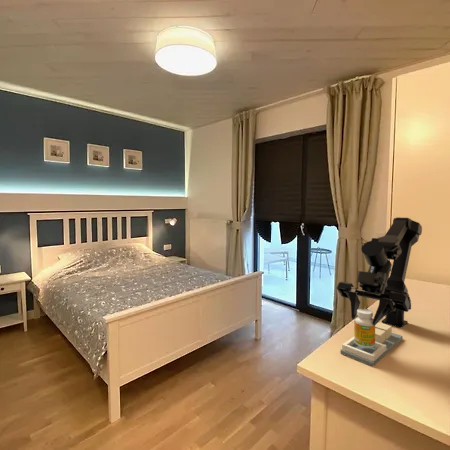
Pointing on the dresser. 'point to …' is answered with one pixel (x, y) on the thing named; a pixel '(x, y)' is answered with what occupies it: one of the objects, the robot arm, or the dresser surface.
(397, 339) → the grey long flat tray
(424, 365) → the dresser surface
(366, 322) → the supplement bottle
